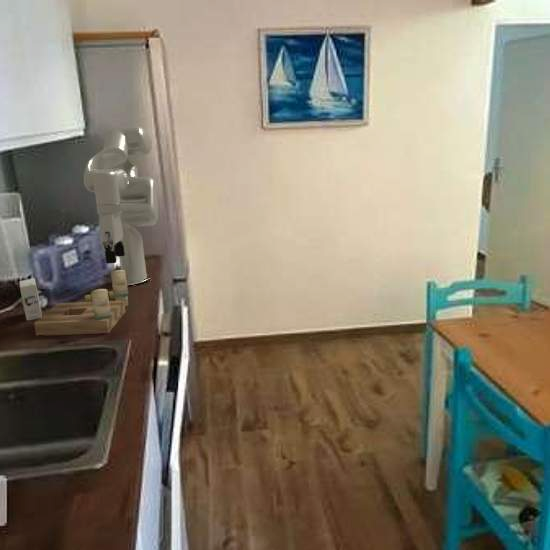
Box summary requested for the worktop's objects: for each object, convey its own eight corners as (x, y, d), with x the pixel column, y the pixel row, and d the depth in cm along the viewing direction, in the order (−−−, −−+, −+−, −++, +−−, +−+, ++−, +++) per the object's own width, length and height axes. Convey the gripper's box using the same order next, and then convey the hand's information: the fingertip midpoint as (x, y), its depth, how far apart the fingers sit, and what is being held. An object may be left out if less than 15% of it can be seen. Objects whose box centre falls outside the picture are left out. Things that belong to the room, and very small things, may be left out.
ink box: (25, 313, 176) (18, 280, 172) (40, 310, 178) (34, 277, 175) (26, 321, 169) (19, 286, 165) (42, 318, 171) (36, 284, 167)
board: (60, 314, 173) (54, 280, 170) (125, 311, 173) (120, 277, 169) (36, 335, 156) (29, 298, 152) (108, 333, 156) (103, 295, 152)
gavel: (83, 284, 196) (110, 280, 199) (84, 295, 197) (112, 291, 200) (84, 296, 176) (114, 292, 180) (86, 309, 177) (116, 305, 181)
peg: (117, 302, 182) (113, 270, 178) (131, 302, 182) (127, 269, 178) (113, 307, 177) (108, 274, 174) (127, 307, 177) (123, 273, 174)
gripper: (106, 205, 178) (112, 254, 183) (88, 213, 161) (96, 266, 166) (127, 205, 178) (133, 253, 183) (112, 212, 161) (119, 265, 166)
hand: (115, 259), depth 174 cm, fingers open, 9 cm apart
